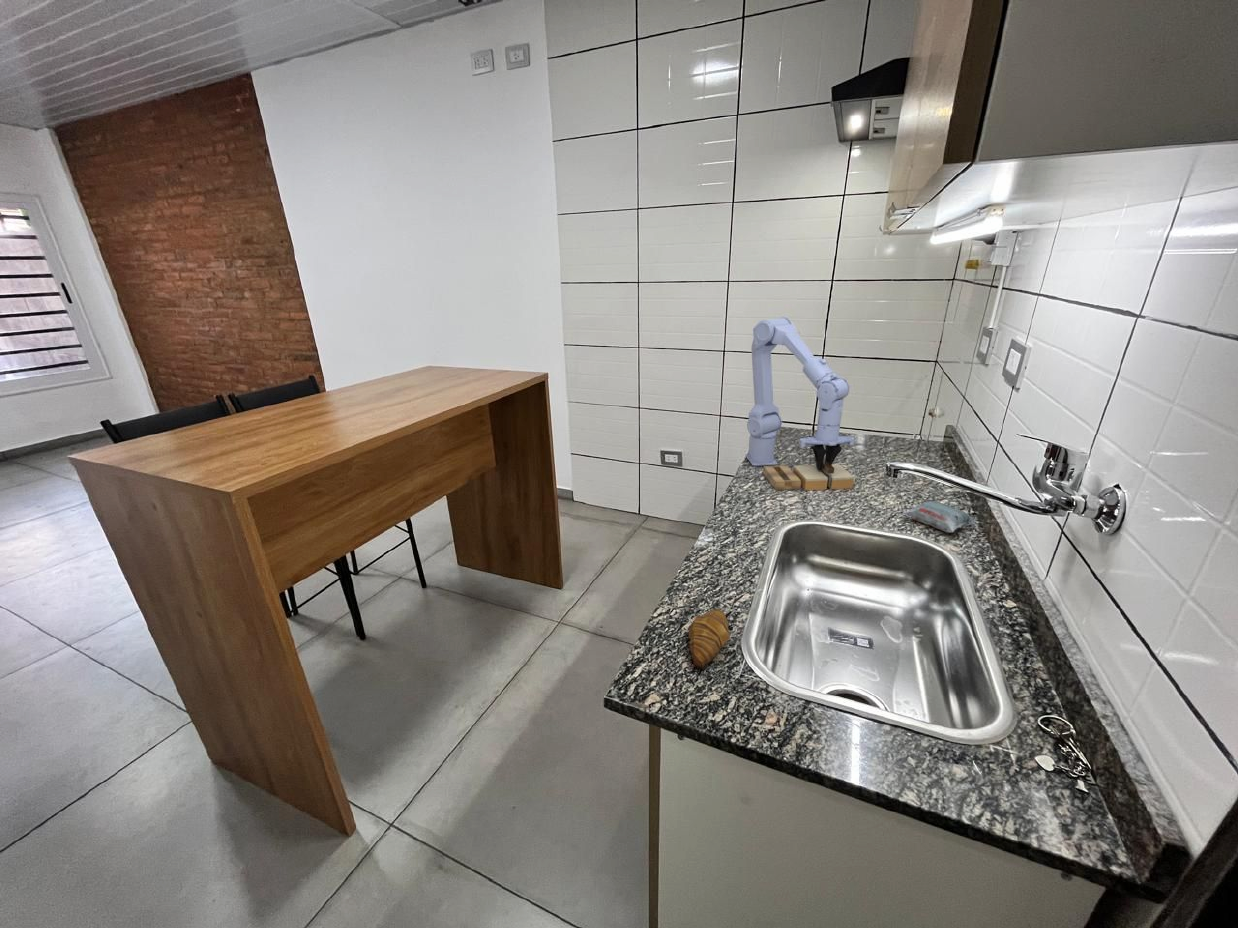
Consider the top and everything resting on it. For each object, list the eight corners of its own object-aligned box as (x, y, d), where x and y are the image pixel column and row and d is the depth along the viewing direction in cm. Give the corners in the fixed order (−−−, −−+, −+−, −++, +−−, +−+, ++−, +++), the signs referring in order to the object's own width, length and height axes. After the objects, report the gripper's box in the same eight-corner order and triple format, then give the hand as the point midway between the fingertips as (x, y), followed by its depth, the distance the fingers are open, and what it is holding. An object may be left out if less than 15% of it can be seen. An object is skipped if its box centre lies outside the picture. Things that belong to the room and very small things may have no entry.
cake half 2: (816, 475, 143) (818, 464, 141) (837, 474, 143) (838, 463, 141) (830, 489, 133) (832, 477, 132) (852, 488, 133) (854, 477, 132)
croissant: (700, 613, 87) (700, 590, 86) (737, 622, 85) (739, 599, 83) (676, 665, 76) (676, 639, 74) (718, 678, 73) (719, 652, 71)
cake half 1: (792, 476, 143) (793, 465, 142) (812, 475, 143) (814, 464, 142) (804, 490, 134) (806, 478, 132) (826, 489, 133) (828, 478, 132)
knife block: (762, 473, 146) (763, 465, 145) (786, 472, 146) (786, 464, 145) (775, 490, 134) (775, 481, 134) (800, 489, 134) (801, 480, 134)
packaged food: (951, 541, 106) (956, 521, 105) (900, 519, 116) (904, 501, 114) (974, 531, 110) (979, 512, 108) (923, 511, 120) (927, 493, 118)
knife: (812, 473, 142) (814, 455, 140) (818, 473, 142) (820, 455, 140) (826, 486, 133) (828, 468, 131) (831, 486, 133) (834, 467, 131)
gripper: (807, 428, 128) (802, 475, 133) (862, 426, 128) (855, 473, 133) (798, 421, 135) (793, 466, 140) (850, 419, 134) (843, 464, 139)
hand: (823, 469), depth 137 cm, fingers closed on knife, 1 cm apart
